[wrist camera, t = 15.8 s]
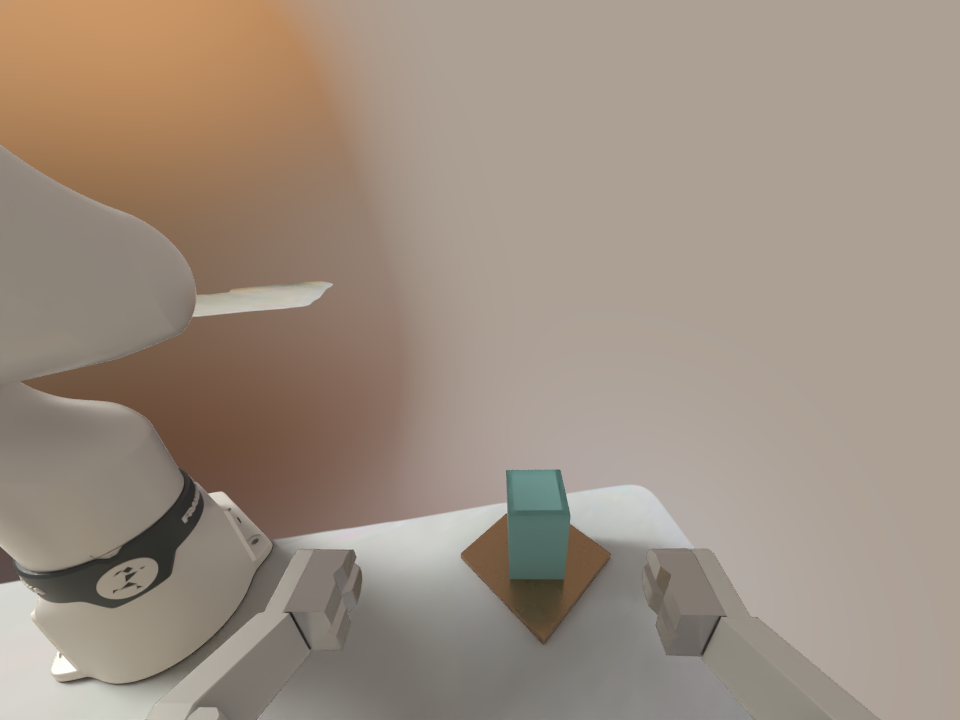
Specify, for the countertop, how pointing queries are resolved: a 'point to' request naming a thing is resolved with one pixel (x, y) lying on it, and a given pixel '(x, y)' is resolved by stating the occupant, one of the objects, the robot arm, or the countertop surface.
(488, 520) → the countertop surface
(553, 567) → the teal tall prism
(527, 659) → the countertop surface
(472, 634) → the countertop surface
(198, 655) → the countertop surface
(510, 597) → the brown square base plate
